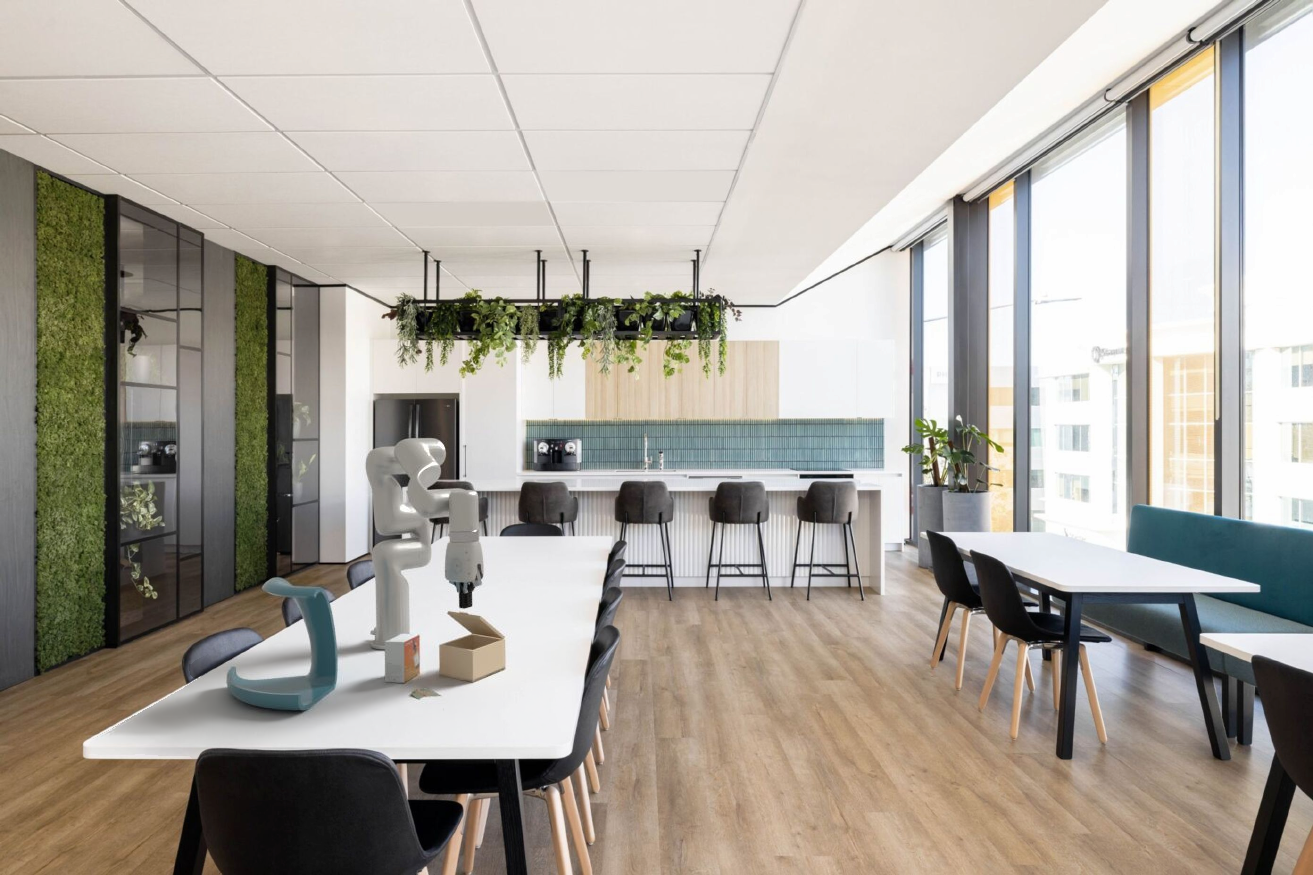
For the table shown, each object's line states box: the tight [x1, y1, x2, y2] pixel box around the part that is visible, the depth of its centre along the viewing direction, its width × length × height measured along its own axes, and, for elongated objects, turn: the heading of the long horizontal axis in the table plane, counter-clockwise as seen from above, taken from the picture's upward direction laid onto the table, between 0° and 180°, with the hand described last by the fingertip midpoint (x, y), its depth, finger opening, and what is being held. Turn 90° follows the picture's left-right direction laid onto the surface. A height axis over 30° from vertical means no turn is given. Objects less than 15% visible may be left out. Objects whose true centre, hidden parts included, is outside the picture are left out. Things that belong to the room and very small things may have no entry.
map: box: [410, 687, 442, 700], centre depth 170 cm, size 5×20×1 cm, turn 46°
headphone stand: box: [226, 576, 339, 711], centre depth 176 cm, size 26×28×28 cm
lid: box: [446, 610, 506, 639], centre depth 192 cm, size 12×12×1 cm
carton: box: [438, 633, 506, 683], centre depth 191 cm, size 12×12×8 cm
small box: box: [384, 633, 421, 684], centre depth 188 cm, size 8×6×10 cm
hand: (465, 607), depth 189 cm, fingers closed
